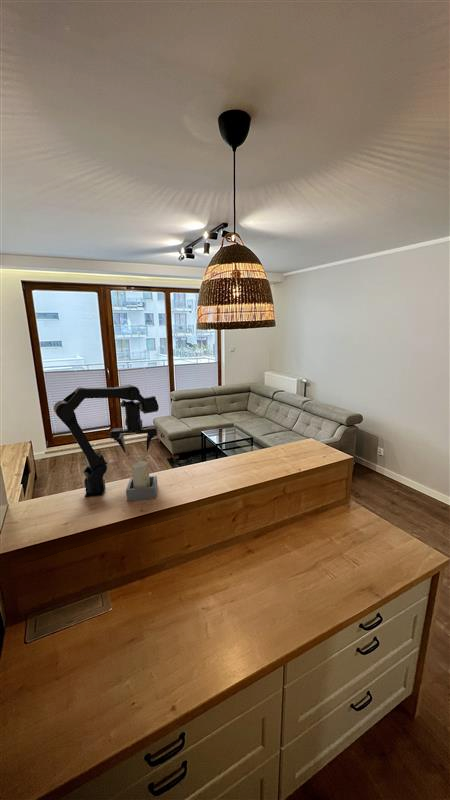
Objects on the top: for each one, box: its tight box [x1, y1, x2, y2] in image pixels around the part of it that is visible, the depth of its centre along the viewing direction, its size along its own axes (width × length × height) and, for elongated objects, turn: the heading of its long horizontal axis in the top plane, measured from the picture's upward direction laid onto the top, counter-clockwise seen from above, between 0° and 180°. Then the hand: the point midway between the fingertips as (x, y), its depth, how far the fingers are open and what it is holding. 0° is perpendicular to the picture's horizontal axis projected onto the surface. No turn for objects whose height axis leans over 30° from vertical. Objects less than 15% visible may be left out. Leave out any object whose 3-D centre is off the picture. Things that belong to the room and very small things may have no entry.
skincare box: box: [131, 460, 150, 488], centre depth 125 cm, size 6×4×12 cm
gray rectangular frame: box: [125, 475, 158, 502], centre depth 126 cm, size 10×10×4 cm
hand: (136, 451), depth 135 cm, fingers open, 9 cm apart
